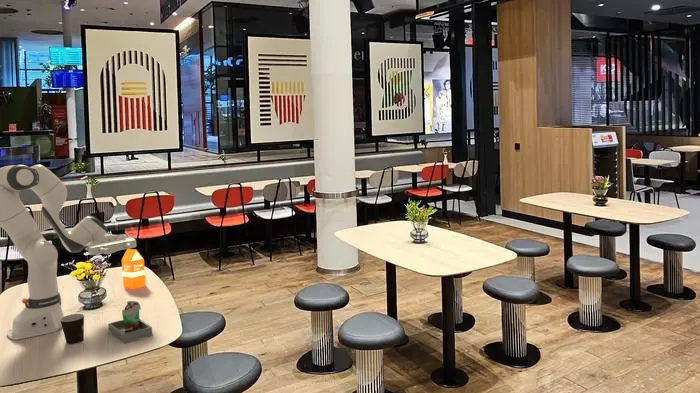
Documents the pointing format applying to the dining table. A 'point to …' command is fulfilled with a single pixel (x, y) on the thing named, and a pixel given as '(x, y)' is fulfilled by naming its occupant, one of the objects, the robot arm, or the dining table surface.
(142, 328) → the bin
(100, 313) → the dining table surface
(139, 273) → the orange juice
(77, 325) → the coffee mug
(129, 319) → the ice cream cake half
